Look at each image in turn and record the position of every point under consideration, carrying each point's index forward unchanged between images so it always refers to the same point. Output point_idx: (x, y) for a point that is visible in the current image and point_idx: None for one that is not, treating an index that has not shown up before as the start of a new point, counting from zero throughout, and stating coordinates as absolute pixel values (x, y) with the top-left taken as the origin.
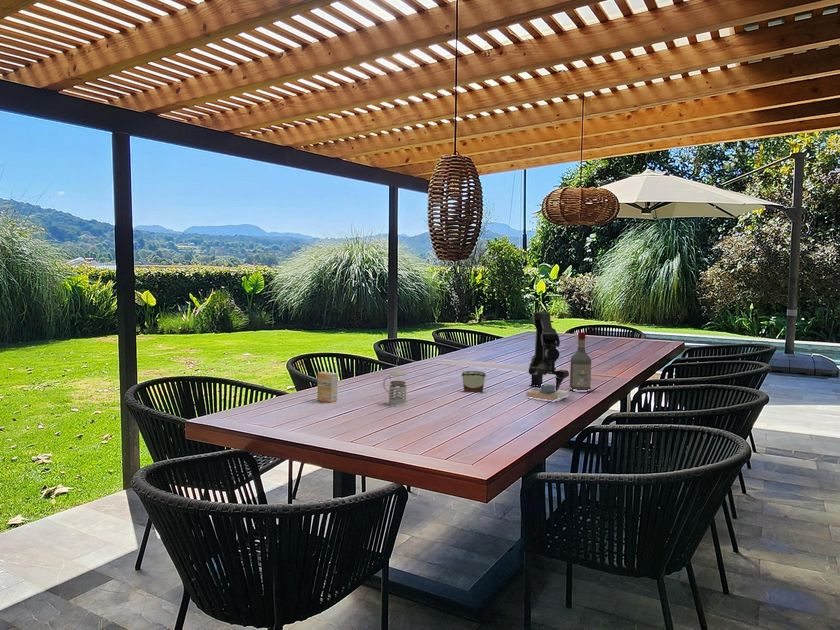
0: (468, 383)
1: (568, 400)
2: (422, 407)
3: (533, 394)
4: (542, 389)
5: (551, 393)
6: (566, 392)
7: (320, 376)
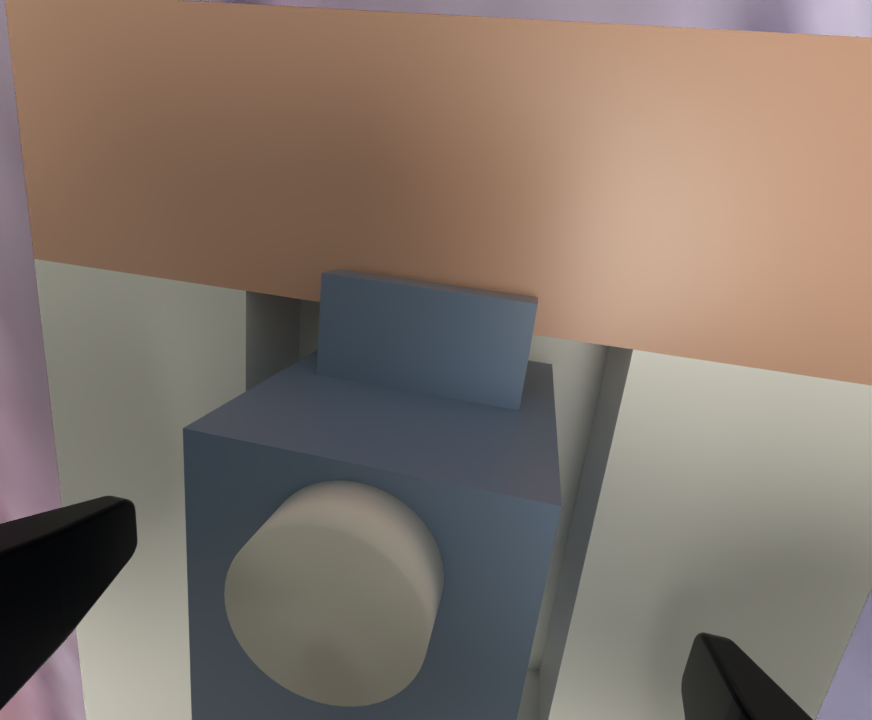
0: None
1: None
2: None
3: (717, 47)
4: (494, 422)
5: (232, 372)
6: (89, 676)
7: None
